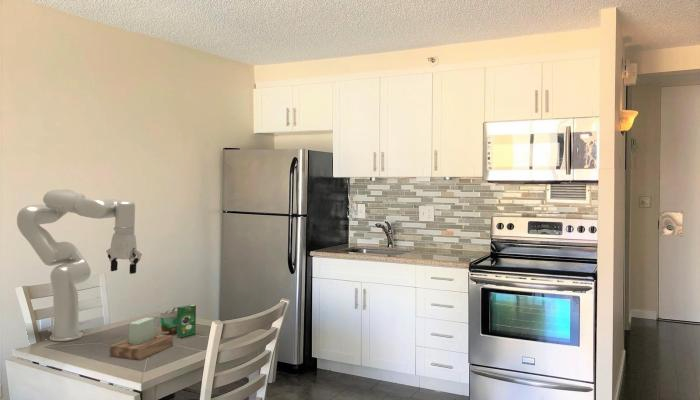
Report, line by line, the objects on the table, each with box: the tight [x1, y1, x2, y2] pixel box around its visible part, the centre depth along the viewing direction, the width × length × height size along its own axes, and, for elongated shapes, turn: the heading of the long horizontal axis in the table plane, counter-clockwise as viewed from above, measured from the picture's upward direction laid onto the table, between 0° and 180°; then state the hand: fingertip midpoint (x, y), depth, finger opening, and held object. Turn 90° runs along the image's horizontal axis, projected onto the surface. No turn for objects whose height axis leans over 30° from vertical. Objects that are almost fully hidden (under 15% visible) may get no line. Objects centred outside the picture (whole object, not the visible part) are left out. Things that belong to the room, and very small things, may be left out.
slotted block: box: [109, 333, 174, 361], centre depth 225 cm, size 14×20×4 cm
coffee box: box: [176, 304, 197, 339], centre depth 247 cm, size 8×3×13 cm, turn 139°
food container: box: [159, 306, 178, 336], centre depth 251 cm, size 12×6×10 cm, turn 168°
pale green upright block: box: [128, 316, 155, 345], centre depth 225 cm, size 4×10×12 cm, turn 162°
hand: (123, 272), depth 235 cm, fingers open, 9 cm apart
